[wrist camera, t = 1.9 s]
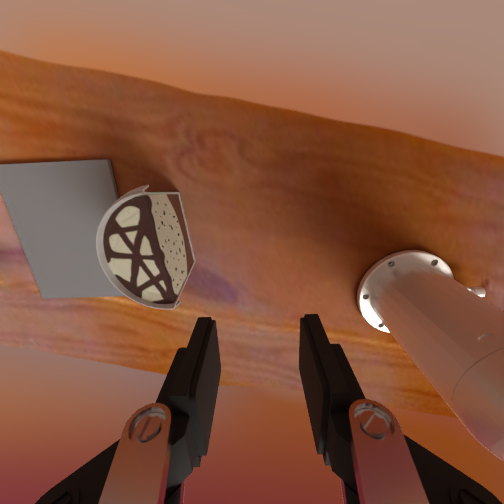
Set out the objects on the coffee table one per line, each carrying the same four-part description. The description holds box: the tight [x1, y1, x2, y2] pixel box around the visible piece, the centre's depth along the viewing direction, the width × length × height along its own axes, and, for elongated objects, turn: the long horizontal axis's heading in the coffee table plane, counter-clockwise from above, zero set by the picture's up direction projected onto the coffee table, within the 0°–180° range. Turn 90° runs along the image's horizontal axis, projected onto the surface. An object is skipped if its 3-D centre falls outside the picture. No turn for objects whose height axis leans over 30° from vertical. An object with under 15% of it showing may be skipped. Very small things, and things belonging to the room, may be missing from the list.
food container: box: [96, 185, 196, 309], centre depth 26 cm, size 12×6×10 cm, turn 8°
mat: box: [0, 159, 125, 299], centre depth 31 cm, size 14×18×1 cm
